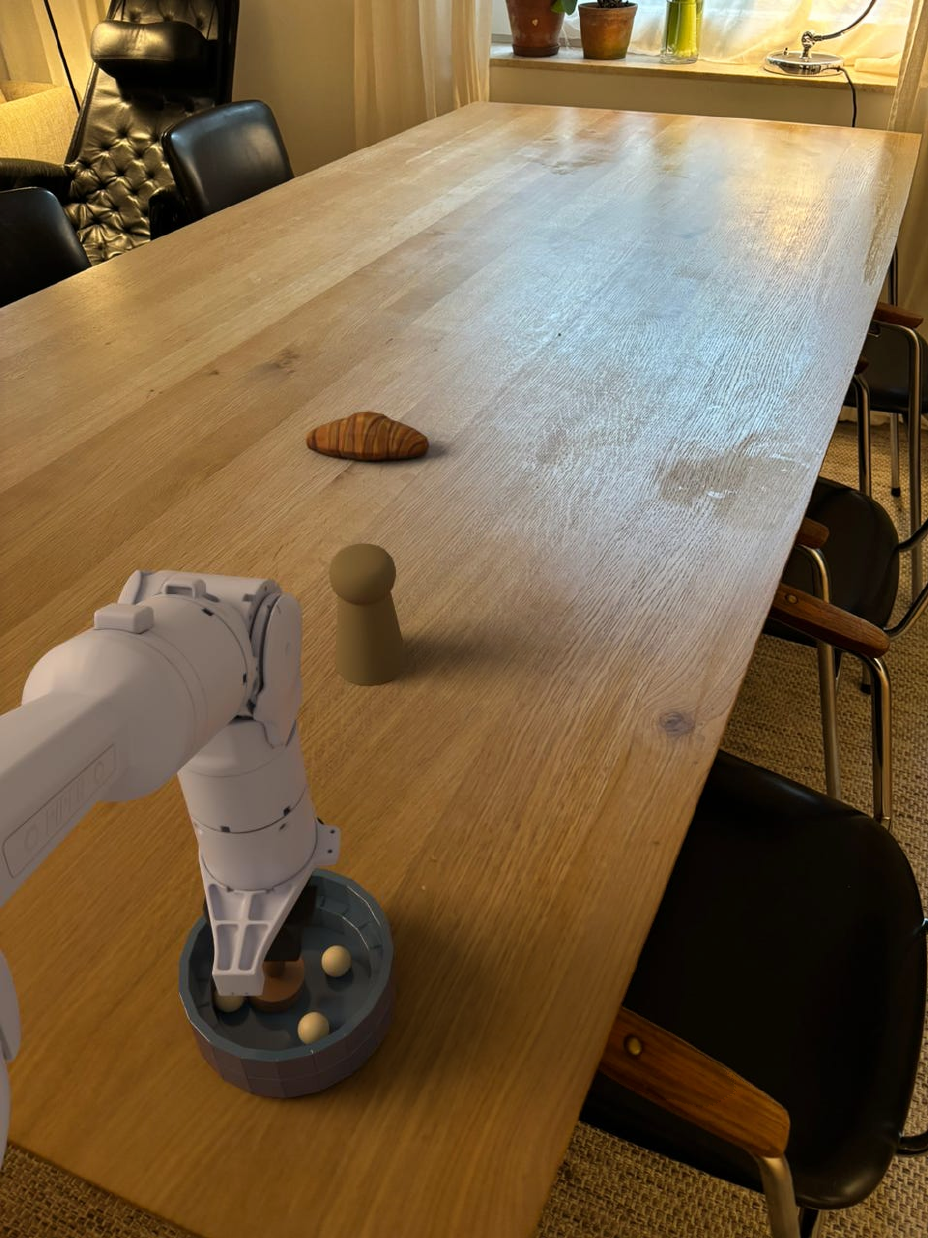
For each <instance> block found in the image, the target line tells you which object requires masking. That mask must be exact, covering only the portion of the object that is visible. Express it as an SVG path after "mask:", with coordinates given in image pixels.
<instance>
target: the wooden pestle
mask: <svg viewBox="0 0 928 1238" xmlns="http://www.w3.org/2000/svg"><path fill="white" fill-rule="evenodd" d="M262 970H263V973H264V977H265V980H264V986H263V992H262V995H260V996H246V997H247V999H248V1001H249V1002H250V1003H251V1004H252V1005H253V1006H254V1007H255V1008H257V1009H258V1010H261V1011H263V1012H268V1013H276V1012H281V1011H284V1010H286V1009H288V1008H290V1007H291V1006H293V1005H294V1004H295V1003H296V1002H297V1001H298V999H299V998H300V996H301V994H302V992H303V988H304V981H305V965H304V962H303V959H302V958H301V956H300V958H299V960H298V961H296V962H264V961H263V964H262Z"/></svg>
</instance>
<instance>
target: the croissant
mask: <svg viewBox="0 0 928 1238" xmlns="http://www.w3.org/2000/svg"><path fill="white" fill-rule="evenodd" d="M305 443H306V447H307V450H310V451H314V452H316V453H318V454H323V455H326V456H330V457H334V458H335V457H336V458H345V459H349V460H354V461H355V460H356V461H363V462H369V461H370V462H371V461H384V460H403V459H410V458H411V459H412V458H417V457H420V456H423V455H427V453H428V452H429V449H430V443H429V440H428V436H426V435H424V434H423V433H422V432H420V431H419V430H417V429H415V428H414V427H412V426H409V425H407V424H405V423H403V422H400V421H398V420H395V419H392V418H390V417H389V416H387V415H386V414H384V413H381V412H376V411H370V410H367V411H366V410H365V411H357V412H353V413H351V414H350V415H348V416H347V417H343V418H338V419H335V420H332V421H329V422H326V423H323V424H321V425H319V426H317V427H316V428H314V429H312V430H311V431H309V432H308V433H307V434H306V439H305Z"/></svg>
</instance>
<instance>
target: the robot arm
mask: <svg viewBox="0 0 928 1238" xmlns="http://www.w3.org/2000/svg"><path fill="white" fill-rule="evenodd" d="M302 611H303V610H302V604H301V603H300V602H298V600H297V598H296V596H294V594H292V593H290V592H285V593H283V590H282V588H281V586H280V584H279V583H276V580H275V579H271V578H261V577H260V578H259V577H248V576H238V575H225V574H216V573H215V574H214V573H204V572H192V571H181V570H169V569H162V570H158V571H154V570H142V569H136V570H134V571H133V573H132V574H131V575H130V577H128V579H127V581H126V583H125V584H124V585H123V588H122V590H121V592H120V595H119V597H118V600H117V602H111V603H109V604H107V605H105V606H103V607H101V608H99V609H97V610H96V611H95V612H94V614H93V622H94V623H93V624H94V625H93V626H91V628H88V629H87V630H85V631H82V632H81V633H79V634H77V635H75V636H74V637H71V638H69V639H68V640H66V641H63V642H62V643H60V644H58V645H56V646H55V647H53V648H52V649H49V650H48V652H46V653H45V654H44V655H43V656H42V657H41V658H40V659H38V661H37V662H36V664H35V665H34V666H33V667H32V669H31V670H30V672H29V675H28V677H27V678H26V681H25V683H24V687H23V691H22V696H21V705H19V706H18V707H16V708H14V709H11V710H9V711H7V712H5V713H4V714H1V715H0V910H1V909H2V908H3V907H4V906H5V904H7V902H8V901H9V900H10V899H11V898H12V897H13V896H14V895H15V894H16V892H17V891H18V890H19V889H20V888H21V887H22V886H23V885H24V883H26V882H27V880H29V878H30V877H31V876H32V875H33V874H34V872H36V870H37V869H38V868H39V867H40V866H41V865H42V864H43V863H44V862H45V860H46V859H47V858H48V857H49V856H50V855H51V854H52V853H53V852H54V850H55V849H56V848H57V847H58V846H59V845H60V844H61V843H62V842H63V840H65V839H66V837H67V836H68V835H69V834H70V832H72V830H73V829H74V828H75V827H77V825H78V824H79V823H80V822H81V821H82V820H83V818H85V816H86V815H87V814H88V813H89V812H90V811H91V809H92V808H93V807H95V805H96V804H97V803H98V802H99V801H100V802H107V803H124V802H125V803H126V802H131V801H135V800H139V799H142V798H145V797H147V796H150V795H152V794H153V793H155V792H157V791H158V790H160V789H161V788H162V787H163V786H164V785H165V784H166V783H168V782H169V781H170V780H171V779H173V777H175V775H177V778H178V783H179V785H180V788H181V791H182V795H183V799H184V801H185V805H186V809H187V812H188V814H189V818H190V822H191V825H192V827H193V830H194V833H195V837H196V840H197V844H198V861H199V867H200V872H201V877H202V883H203V888H204V893H205V895H204V899H203V902H202V903H203V904H202V913H204V916H205V919H206V921H207V924H208V925H209V926H210V927H211V928H212V932H213V937H214V946H215V957H214V965H213V971H212V975H213V978H214V981H215V984H216V987H217V990H218V993H219V995H221V996H232V995H233V996H260V995H262V992H263V986H264V980H265V977H264V973H263V970H262V964H263V961H264V962H296V961H298V960H299V958H300V954H301V949H302V942H303V930H304V929H305V928H307V927H308V926H310V924H311V921H312V919H313V916H314V912H315V907H316V900H317V893H318V886H319V885H309V883H310V880H311V876H312V874H313V872H314V870H315V869H316V868H320V867H330V866H334V865H335V864H336V863H338V861H339V859H340V853H341V847H342V846H341V845H342V836H341V829H340V828H339V827H338V826H337V825H332V824H325V823H324V822H323V821H322V819H321V818H319V817H317V813H316V810H315V807H314V804H313V801H312V798H311V797H312V796H311V793H310V787H309V782H308V776H307V771H306V764H305V759H304V753H303V747H302V742H301V736H300V731H299V723H298V720H297V717H298V715H299V711H300V710H301V706H302V704H303V689H304V684H303V678H302V671H301V661H302V660H301V659H302V646H303V613H302ZM19 1007H20V1006H19V1000H18V996H17V990H16V986H15V982H14V977H13V974H12V972H11V969H10V966H9V963H8V960H7V959H6V957H5V954H4V953H3V950H2V949H1V948H0V1171H2V1170H1V1169H2V1166H3V1162H4V1158H5V1153H6V1148H7V1143H8V1135H9V1129H10V1122H11V1121H10V1120H11V1119H10V1118H11V1104H12V1103H11V1083H10V1075H9V1071H8V1068H7V1067H8V1066H7V1063H12V1062H14V1061H15V1059H16V1058H17V1056H18V1054H19V1051H20V1048H21V1043H22V1029H21V1016H20V1015H21V1014H20V1008H19ZM6 1062H7V1063H6Z"/></svg>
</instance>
